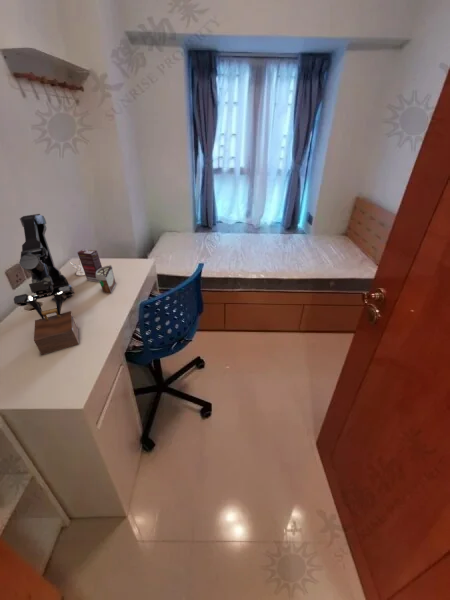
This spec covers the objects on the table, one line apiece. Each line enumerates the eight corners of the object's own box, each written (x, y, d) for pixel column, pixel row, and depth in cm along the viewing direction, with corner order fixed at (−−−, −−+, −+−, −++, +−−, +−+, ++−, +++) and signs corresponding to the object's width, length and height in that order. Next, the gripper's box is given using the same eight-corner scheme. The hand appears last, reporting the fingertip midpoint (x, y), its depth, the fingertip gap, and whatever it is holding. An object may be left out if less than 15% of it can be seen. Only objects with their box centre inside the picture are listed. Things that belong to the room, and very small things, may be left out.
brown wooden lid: (35, 321, 105) (30, 312, 102) (71, 312, 109) (67, 303, 106) (34, 341, 98) (28, 332, 95) (73, 331, 102) (68, 321, 99)
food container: (104, 283, 144) (98, 265, 138) (116, 282, 144) (111, 264, 139) (97, 296, 134) (91, 277, 128) (110, 294, 134) (104, 276, 128)
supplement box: (106, 277, 149) (97, 250, 140) (100, 282, 145) (90, 254, 136) (93, 276, 151) (83, 248, 143) (86, 280, 147) (76, 252, 139)
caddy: (43, 338, 109) (37, 325, 106) (78, 328, 113) (72, 316, 110) (41, 355, 101) (34, 342, 98) (78, 344, 105) (73, 331, 102)
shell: (95, 272, 154) (90, 257, 149) (71, 277, 151) (65, 261, 145) (95, 266, 161) (90, 251, 156) (73, 270, 158) (67, 255, 152)
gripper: (2, 277, 95) (12, 321, 93) (62, 265, 101) (73, 305, 99) (15, 285, 105) (25, 325, 103) (69, 274, 111) (80, 311, 110)
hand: (51, 316), depth 104 cm, fingers closed on brown wooden lid, 5 cm apart
